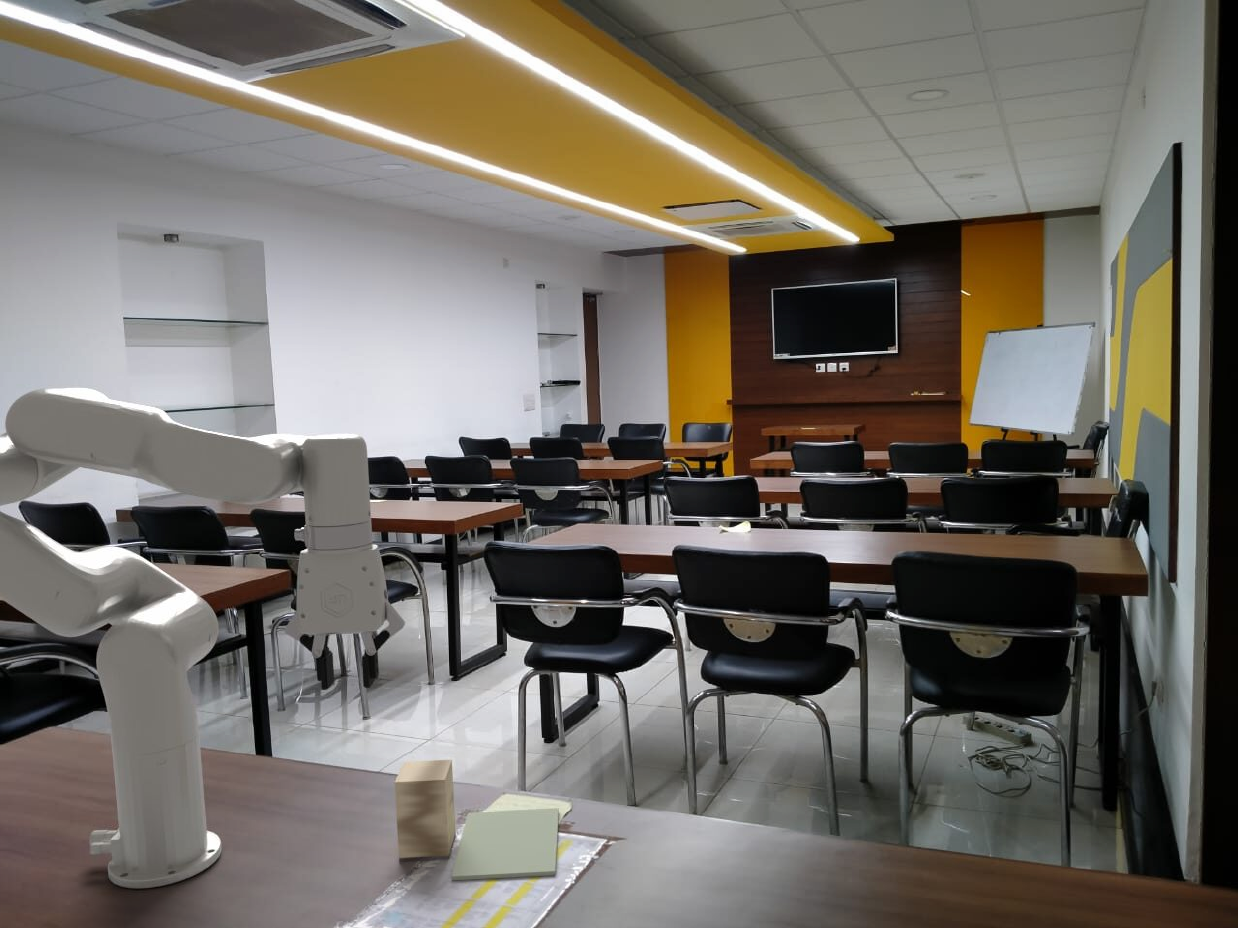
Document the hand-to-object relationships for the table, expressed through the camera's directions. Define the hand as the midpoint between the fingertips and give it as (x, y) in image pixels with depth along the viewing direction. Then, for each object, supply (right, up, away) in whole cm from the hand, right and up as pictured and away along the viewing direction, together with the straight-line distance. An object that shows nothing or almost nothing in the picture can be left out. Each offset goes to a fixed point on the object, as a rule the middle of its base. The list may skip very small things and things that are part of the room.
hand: (348, 683), depth 115 cm
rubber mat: (+19, -21, +3) cm, 28 cm away
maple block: (+9, -21, +2) cm, 23 cm away
